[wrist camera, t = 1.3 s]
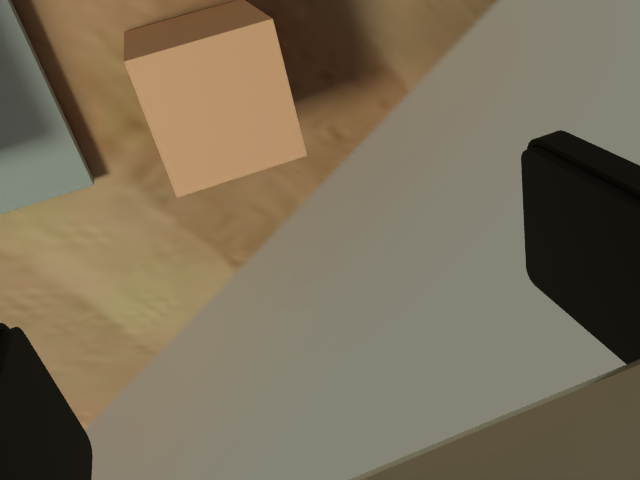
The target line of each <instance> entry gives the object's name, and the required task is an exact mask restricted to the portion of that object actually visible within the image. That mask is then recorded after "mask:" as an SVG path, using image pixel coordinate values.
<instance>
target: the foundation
mask: <svg viewBox="0 0 640 480" xmlns="http://www.w3.org/2000/svg"><path fill="white" fill-rule="evenodd" d="M92 185H94V179H93V177H92V174H91V172H90V170H89V168H88V166H87V163H86V161H85V159H84V157H83V155H82V153H81V150H80V148H79V146H78V144H77V142H76V140H75V137H74V135H73V133H72V131H71V129H70V127H69V124H68V122H67V120H66V118H65V116H64V114H63V111H62V109H61V107H60V105H59V103H58V101H57V98H56V96H55V94H54V92H53V90H52V88H51V85H50V83H49V81H48V79H47V77H46V75H45V72H44V70H43V68H42V66H41V64H40V62H39V59H38V57H37V55H36V53H35V51H34V49H33V46H32V44H31V42H30V40H29V38H28V36H27V33H26V31H25V29H24V27H23V25H22V23H21V20H20V18H19V16H18V14H17V12H16V10H15V7H14V5H13V3H12V1H11V0H0V214H3V213H6V212H9V211H13V210H16V209H19V208H22V207H25V206H28V205H32V204H35V203H38V202H41V201H44V200H47V199H51V198H54V197H57V196H60V195H63V194H66V193H70V192H73V191H76V190H79V189H82V188H85V187H89V186H92Z"/></svg>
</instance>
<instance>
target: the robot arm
mask: <svg viewBox="0 0 640 480" xmlns="http://www.w3.org/2000/svg"><path fill="white" fill-rule="evenodd" d="M521 165H522V187H523V209H524V231H525V252H526V269H527V273H528V276H529V278H530V280H531V281H532V283H534V285H535V286H536V287H537V288H539V289H540V290H541V291H542V292H543V293H544V294H546V295H547V296H548V297H549V298H550V299H551V300H553V301H554V302H555V303H556V304H557V305H559V307H561V308H562V309H563V310H565V312H566V313H568V314H569V315H570V316H571V317H572V318H574V319H575V320H576V321H577V322H578V323H579V324H581V325H582V326H583V327H584V328H585V329H586V330H587V331H589V332H590V333H591V334H592V335H593V336H594V337H596V338H597V339H598V340H599V341H600V342H601V343H602V344H604V345H605V346H606V347H607V348H608V349H609V350H611V351H612V352H613V353H614V354H615V355H617V356H618V357H619V358H620V359H621V360H622V361H623V362H625V363H626V364H627V365H625V366H622V367H620V368H617V369H615V370H613V371H610V372H608V373H606V374H603V375H601V376H598V377H596V378H593V379H591V380H588V381H586V382H583V383H581V384H579V385H576V386H574V387H571V388H569V389H566V390H564V391H562V392H559V393H557V394H554V395H552V396H549V397H547V398H544V399H542V400H539V401H537V402H535V403H533V404H530V405H527V406H525V407H522V408H520V409H518V410H515V411H513V412H510V413H508V414H506V415H503V416H501V417H498V418H496V419H494V420H491V421H489V422H486V423H484V424H482V425H479V426H477V427H475V428H472V429H470V430H467V431H465V432H462V433H460V434H458V435H455V436H453V437H450V438H448V439H446V440H443V441H441V442H438V443H436V444H433V445H431V446H429V447H426V448H424V449H421V450H419V451H417V452H414V453H412V454H410V455H407V456H405V457H403V458H400V459H398V460H395V461H393V462H390V463H388V464H386V465H383V466H381V467H378V468H376V469H374V470H371V471H369V472H366V473H364V474H362V475H359V476H357V477H354V478H352V479H350V480H640V166H639V165H637V164H635V163H633V162H631V161H628V160H626V159H624V158H622V157H619V156H617V155H615V154H613V153H611V152H609V151H607V150H604V149H602V148H600V147H598V146H596V145H594V144H591V143H589V142H587V141H585V140H583V139H580V138H578V137H576V136H574V135H572V134H570V133H567V132H565V131H561V130H560V131H556V132H554V133H551V134H548V135H545V136H542V137H539V138H536V139H533V140H531V141H530V142H529V145H528V147H527V150H525V151H524V152H523V153H522V156H521ZM91 474H92V448H91V444H90V440H89V438H88V436H87V434H86V432H85V430H84V429H83V427H82V426H81V424H80V422H79V421H78V419H77V417H76V416H75V414H74V413H73V411H72V409H71V408H70V406H69V405H68V403H67V401H66V400H65V398H64V396H63V395H62V393H61V392H60V390H59V388H58V387H57V385H56V384H55V382H54V380H53V379H52V377H51V376H50V374H49V372H48V371H47V369H46V367H45V366H44V364H43V363H42V361H41V359H40V358H39V356H38V355H37V353H36V351H35V350H34V348H33V346H32V345H31V343H30V342H29V340H28V338H27V337H26V335H25V334H24V332H23V331H22V330H21V329H20V328H19V327H14V328H11V329H9V327H7V326H6V325H5V324H3V323H0V480H91Z"/></svg>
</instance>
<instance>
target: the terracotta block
mask: <svg viewBox="0 0 640 480" xmlns="http://www.w3.org/2000/svg"><path fill="white" fill-rule="evenodd" d="M124 62H125V65H126V68H127V70H128V73H129V75H130V78H131V80H132V83H133V86H134V88H135V91H136V93H137V96H138V98H139V101H140V104H141V106H142V109H143V111H144V114H145V117H146V119H147V122H148V124H149V127H150V129H151V132H152V135H153V137H154V140H155V142H156V145H157V147H158V150H159V153H160V155H161V158H162V160H163V163H164V165H165V168H166V171H167V173H168V176H169V178H170V181H171V183H172V186H173V189H174V191H175V194H176V196H177V197H181V196H184V195H187V194H190V193H193V192H196V191H199V190H202V189H205V188H208V187H211V186H215V185H218V184H221V183H224V182H227V181H230V180H233V179H236V178H239V177H242V176H245V175H248V174H252V173H255V172H258V171H261V170H264V169H267V168H270V167H273V166H276V165H279V164H282V163H286V162H289V161H292V160H295V159H298V158H301V157H304V156H307V154H306V150H305V146H304V142H303V138H302V134H301V130H300V126H299V122H298V118H297V114H296V110H295V106H294V102H293V98H292V94H291V90H290V86H289V82H288V78H287V74H286V70H285V66H284V62H283V58H282V54H281V49H280V45H279V41H278V37H277V33H276V29H275V25H274V21H273V18H271V17H270V16H268V15H267V14H265V13H264V12H262V11H261V10H259V9H258V8H256V7H254V6H253V5H251V4H250V3H248V2H247V1H245V0H235V1H232V2H228V3H225V4H221V5H218V6H214V7H211V8H207V9H203V10H200V11H196V12H193V13H189V14H186V15H182V16H179V17H175V18H172V19H168V20H165V21H161V22H157V23H154V24H150V25H147V26H143V27H140V28H136V29H133V30H129V31H126V32H124Z"/></svg>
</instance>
